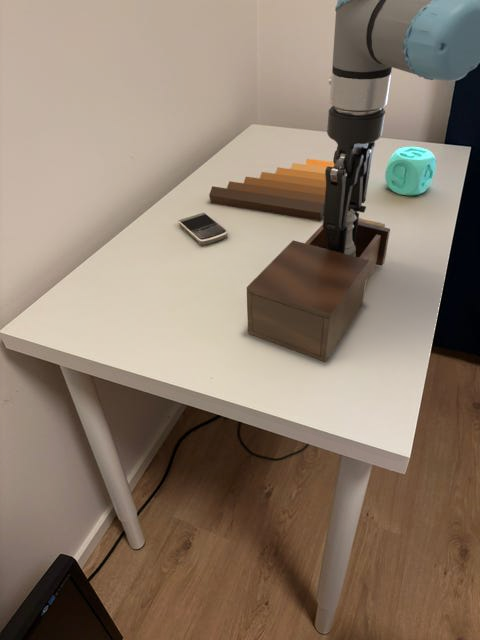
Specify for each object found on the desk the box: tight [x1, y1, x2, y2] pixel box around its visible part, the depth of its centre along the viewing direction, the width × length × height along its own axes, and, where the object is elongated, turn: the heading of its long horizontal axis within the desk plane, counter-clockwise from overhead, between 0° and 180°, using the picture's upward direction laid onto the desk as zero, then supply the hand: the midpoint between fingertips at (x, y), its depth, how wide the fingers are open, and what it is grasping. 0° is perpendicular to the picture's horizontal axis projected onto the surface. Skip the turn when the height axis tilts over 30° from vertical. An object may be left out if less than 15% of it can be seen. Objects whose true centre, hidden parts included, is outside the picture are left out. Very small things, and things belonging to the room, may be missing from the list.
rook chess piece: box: [344, 209, 357, 257], centre depth 78 cm, size 4×4×8 cm
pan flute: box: [208, 158, 334, 222], centre depth 110 cm, size 25×3×25 cm
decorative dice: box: [384, 146, 437, 196], centre depth 107 cm, size 8×8×8 cm
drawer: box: [304, 217, 391, 282], centre depth 82 cm, size 18×11×7 cm, turn 149°
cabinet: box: [246, 239, 369, 363], centre depth 73 cm, size 15×13×9 cm
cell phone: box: [177, 212, 229, 246], centre depth 97 cm, size 6×11×1 cm, turn 31°
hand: (340, 254), depth 80 cm, fingers closed on rook chess piece, 4 cm apart
